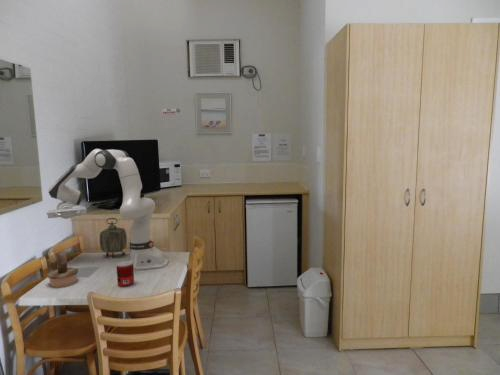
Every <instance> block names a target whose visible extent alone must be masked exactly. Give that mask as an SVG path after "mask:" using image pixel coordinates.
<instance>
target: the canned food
mask: <svg viewBox="0 0 500 375" xmlns="http://www.w3.org/2000/svg"><path fill="white" fill-rule="evenodd" d="M134 271H135V270H134V268H133V262H132V261H130V260H124V261H120V262H117V263H116V278H117V279H116V280H117V286H118V287H121V288H125V287H131V286H132V285H134V283H135V276H134V275H135V274H134Z"/></svg>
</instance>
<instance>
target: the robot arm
mask: <svg viewBox="0 0 500 375" xmlns="http://www.w3.org/2000/svg"><path fill="white" fill-rule="evenodd" d="M104 169H105V170H113V169H115V170H116V171H117V173H118V177H119V181H120V184H121V188H122V189H121V190H122V203H121V206H120V207H119V214H120V217H121V218H122V219H123V220H125V221H132V224H131V225H130V227H129V241H130V242H129V247H128V248H129V253H130V255H129V261H132V262H133V270H134V271H136V270H137V271H140V270H150V269H160V268H165V267H166V266H167V265H168V264H169V260H168V258H165V256H164V255H165V254H164V252H163V251H161V250H160V249H159V248H158V247H156V246H154V243H155V242H154V240H151V236H150V225H151V221H152V217H153V213H154V211H155V209H156V203H155V201H154V200H153V199H152V198H150V197H141V191H142V189H143V183H142V180H141V175H140V172H139V168H138V167H137V164H136V162H135V161H134V159H133V158H132V157H130V156H129V154H128V152H127V151H125V150H123V149H113V148H112V149H101V148H95V149H93V150H91V151H90V152H89V154H88V155H87V156H86V157H85V159H84V160H83V161H82V162H81V163H79V164H73V165H72V166H71V167H70V168H68V169H67V171H65V173H63V174H62V175H61V176H60V178H59V179H57V180H56V181H55V182H53V184H51V185H50V187H49V189H48V195H49V196H50V197H51V198H52V199H56V200H59V201H60V202H59V203H58V204H57V205H56V209H50V210H48V211H47V212H46V215H47V219H56V218H61V219H67V220H68V219H70V218H74V217H78V216H79V217H80V216H82V215H84V216H85V215H87V212H88V210H87V207H85V205H82V204H81V202H82V200H83V195H82V191H80V190H78V189H76V188H73V187H70V186H69V185H66V184H67V183H68V182H69V181H70V180H71V179H74V178H80V179H86V180H88V179H94V178H97V176H98V175H99V174H100V173H101V171H103V170H104Z"/></svg>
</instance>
